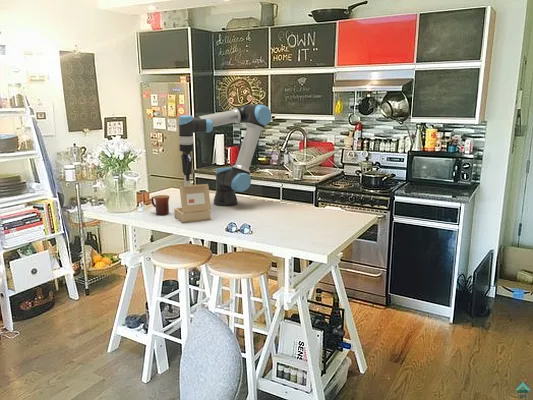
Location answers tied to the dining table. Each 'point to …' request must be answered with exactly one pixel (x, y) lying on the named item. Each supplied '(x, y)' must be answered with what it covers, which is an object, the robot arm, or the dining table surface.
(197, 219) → the mailer box
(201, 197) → the lid
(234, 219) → the dining table surface
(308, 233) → the dining table surface
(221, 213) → the dining table surface
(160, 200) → the mug
